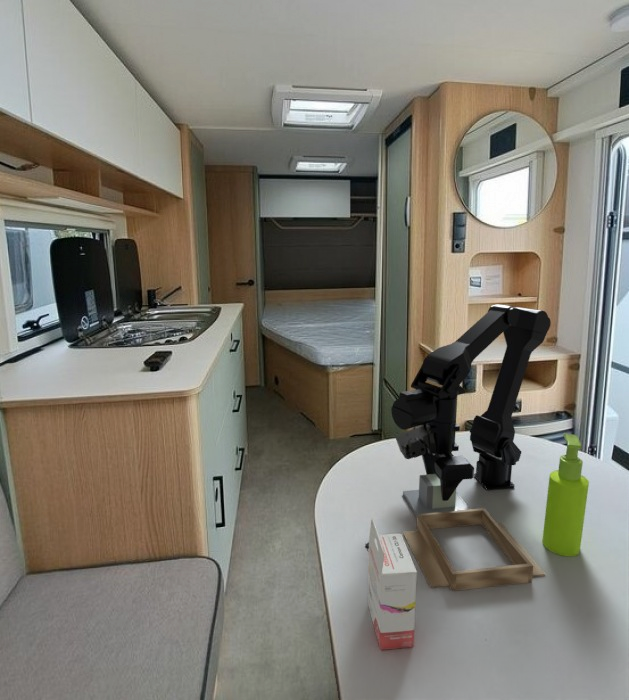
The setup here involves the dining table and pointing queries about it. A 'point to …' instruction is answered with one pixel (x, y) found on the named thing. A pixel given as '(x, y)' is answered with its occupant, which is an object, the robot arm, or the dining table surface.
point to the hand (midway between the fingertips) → (437, 489)
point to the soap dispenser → (566, 503)
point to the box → (433, 493)
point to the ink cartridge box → (391, 590)
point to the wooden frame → (444, 574)
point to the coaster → (419, 508)
